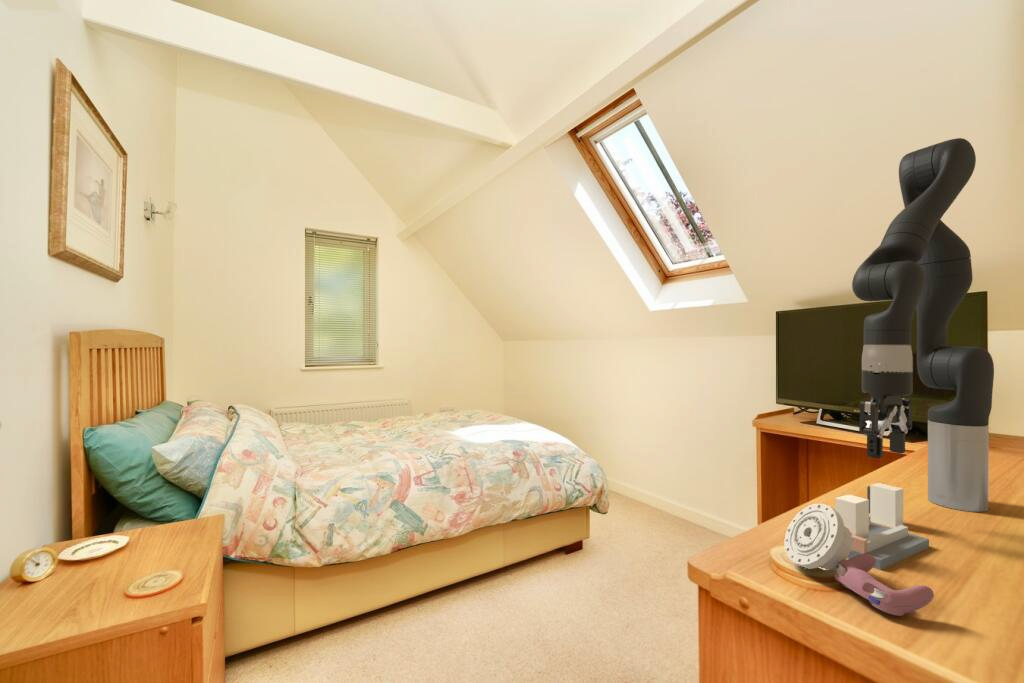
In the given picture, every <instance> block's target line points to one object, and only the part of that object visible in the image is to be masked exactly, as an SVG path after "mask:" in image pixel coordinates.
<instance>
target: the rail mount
mask: <svg viewBox="0 0 1024 683" xmlns="http://www.w3.org/2000/svg"><path fill="white" fill-rule="evenodd" d="M834 504H835V505H834V509H835V510H836V511H837V512H838V513H839V514H840V516H841V517H842V519H843V523H844V526H845V527H846V528H848V529H849V531H850V532H851V533H852V537H853V538H854V540H853V541H852V548H851V549H852V550H853V552H852V553H850V554H849V555H848V557H847V559H850V558H853V557H855V556H857V555H860V554H870V555H872V556H873V557H874V558H875V560H876V563H875V565H874V567H873V568H874V569H877V570H879V571H882V570H885V569H886V568H889V567H890V566H893V565H894V564H897V563H899V562H901V561H904V560H905V559H908V558H911V557H912V556H915V554H918V553H920V552H922V551H925V550H927V549H929V548H930V538H926V537H924V536H920V535H916V534H914V533H910V532H909V526H906V525H904V524H903V525H899V526H897V527H894V528H892V527H888V526H885V525H882V524H878V523H875V522H871V516H870V513H869V500H868V499H867V498H864V497H861V496H860V497H859V496H856V495H853V494H845V495H842V496H838V497H835V500H834ZM873 568H872V569H873Z"/></svg>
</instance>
